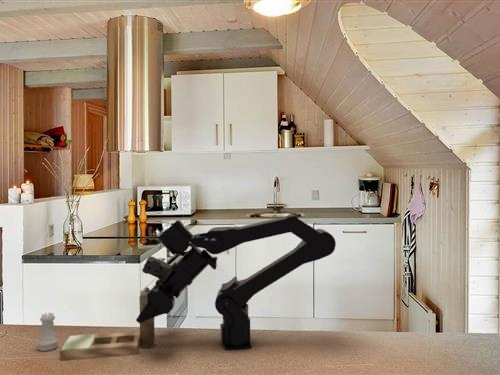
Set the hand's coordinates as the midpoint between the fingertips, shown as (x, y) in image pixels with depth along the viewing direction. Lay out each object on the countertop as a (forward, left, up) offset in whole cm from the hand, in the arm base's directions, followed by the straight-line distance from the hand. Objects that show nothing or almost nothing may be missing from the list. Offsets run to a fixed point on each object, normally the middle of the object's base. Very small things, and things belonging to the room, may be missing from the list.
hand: (141, 315), depth 101 cm
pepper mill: (-1, 0, -7) cm, 7 cm away
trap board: (+9, 0, -7) cm, 11 cm away
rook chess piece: (+22, -3, -7) cm, 23 cm away
